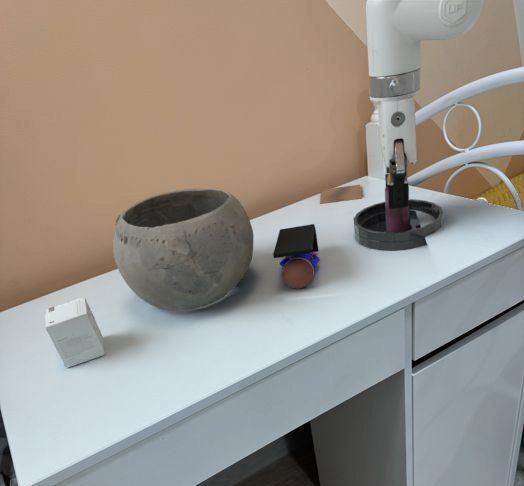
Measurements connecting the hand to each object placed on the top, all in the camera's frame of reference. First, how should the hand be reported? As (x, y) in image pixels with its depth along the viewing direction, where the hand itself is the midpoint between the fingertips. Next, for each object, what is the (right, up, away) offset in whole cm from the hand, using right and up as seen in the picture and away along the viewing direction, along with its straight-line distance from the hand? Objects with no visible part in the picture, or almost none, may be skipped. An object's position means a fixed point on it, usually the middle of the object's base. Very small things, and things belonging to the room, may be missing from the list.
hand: (396, 200), depth 86 cm
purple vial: (+1, -5, +3) cm, 6 cm away
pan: (+1, -5, +4) cm, 6 cm away
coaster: (-6, +8, +25) cm, 27 cm away
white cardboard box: (-50, -26, -11) cm, 58 cm away
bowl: (-35, -15, 0) cm, 38 cm away
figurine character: (-17, -13, -2) cm, 21 cm away
